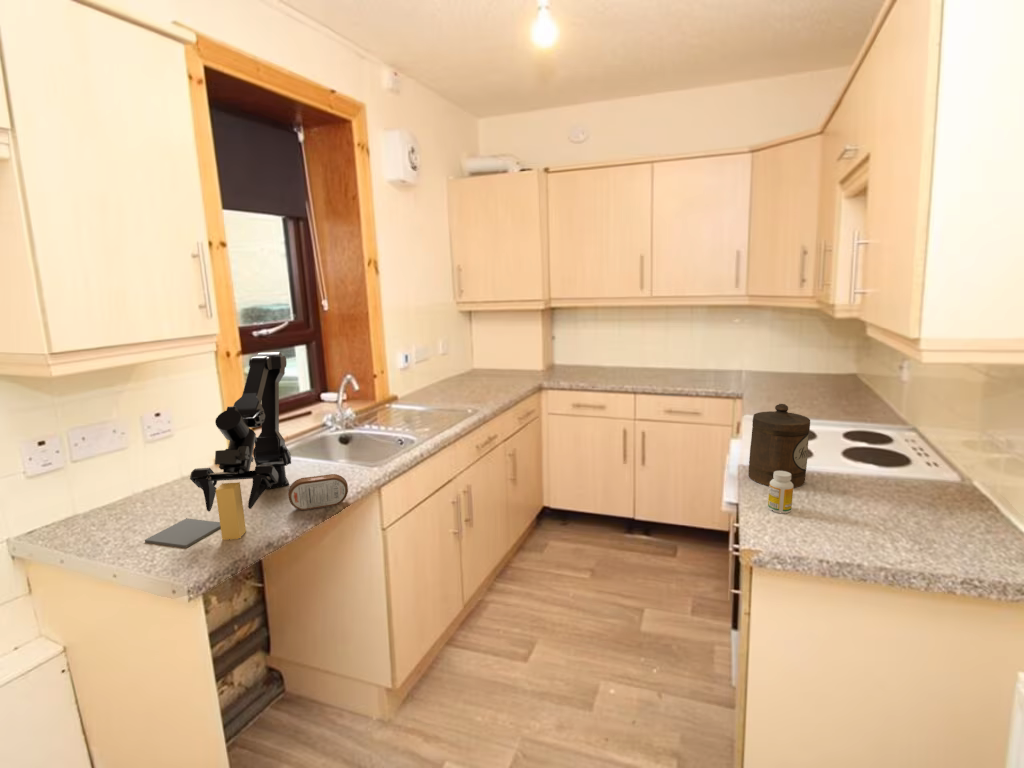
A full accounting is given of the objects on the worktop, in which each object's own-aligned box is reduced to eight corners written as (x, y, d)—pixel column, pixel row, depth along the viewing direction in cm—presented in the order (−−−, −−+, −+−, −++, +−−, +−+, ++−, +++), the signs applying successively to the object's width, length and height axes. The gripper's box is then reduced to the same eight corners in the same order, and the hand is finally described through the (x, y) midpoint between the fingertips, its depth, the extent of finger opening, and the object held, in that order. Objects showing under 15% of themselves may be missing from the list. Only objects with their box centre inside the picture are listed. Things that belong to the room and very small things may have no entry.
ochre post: (228, 532, 136) (222, 483, 133) (246, 531, 136) (239, 482, 134) (222, 540, 132) (215, 489, 129) (240, 538, 132) (233, 488, 130)
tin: (348, 500, 154) (346, 470, 152) (349, 504, 151) (347, 474, 149) (289, 509, 148) (286, 479, 147) (289, 514, 146) (286, 483, 144)
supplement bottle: (768, 512, 139) (771, 475, 137) (766, 504, 144) (769, 468, 142) (792, 515, 137) (795, 478, 136) (790, 506, 142) (792, 470, 140)
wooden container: (810, 490, 152) (817, 411, 148) (751, 486, 156) (756, 409, 152) (799, 471, 166) (805, 399, 162) (745, 468, 170) (749, 397, 166)
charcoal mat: (144, 542, 132) (144, 539, 132) (186, 520, 143) (186, 518, 143) (186, 547, 128) (185, 545, 128) (225, 525, 140) (225, 522, 140)
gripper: (187, 436, 133) (171, 498, 124) (269, 432, 135) (259, 493, 126) (206, 457, 142) (192, 517, 133) (282, 453, 144) (274, 511, 135)
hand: (229, 509), depth 132 cm, fingers open, 9 cm apart
